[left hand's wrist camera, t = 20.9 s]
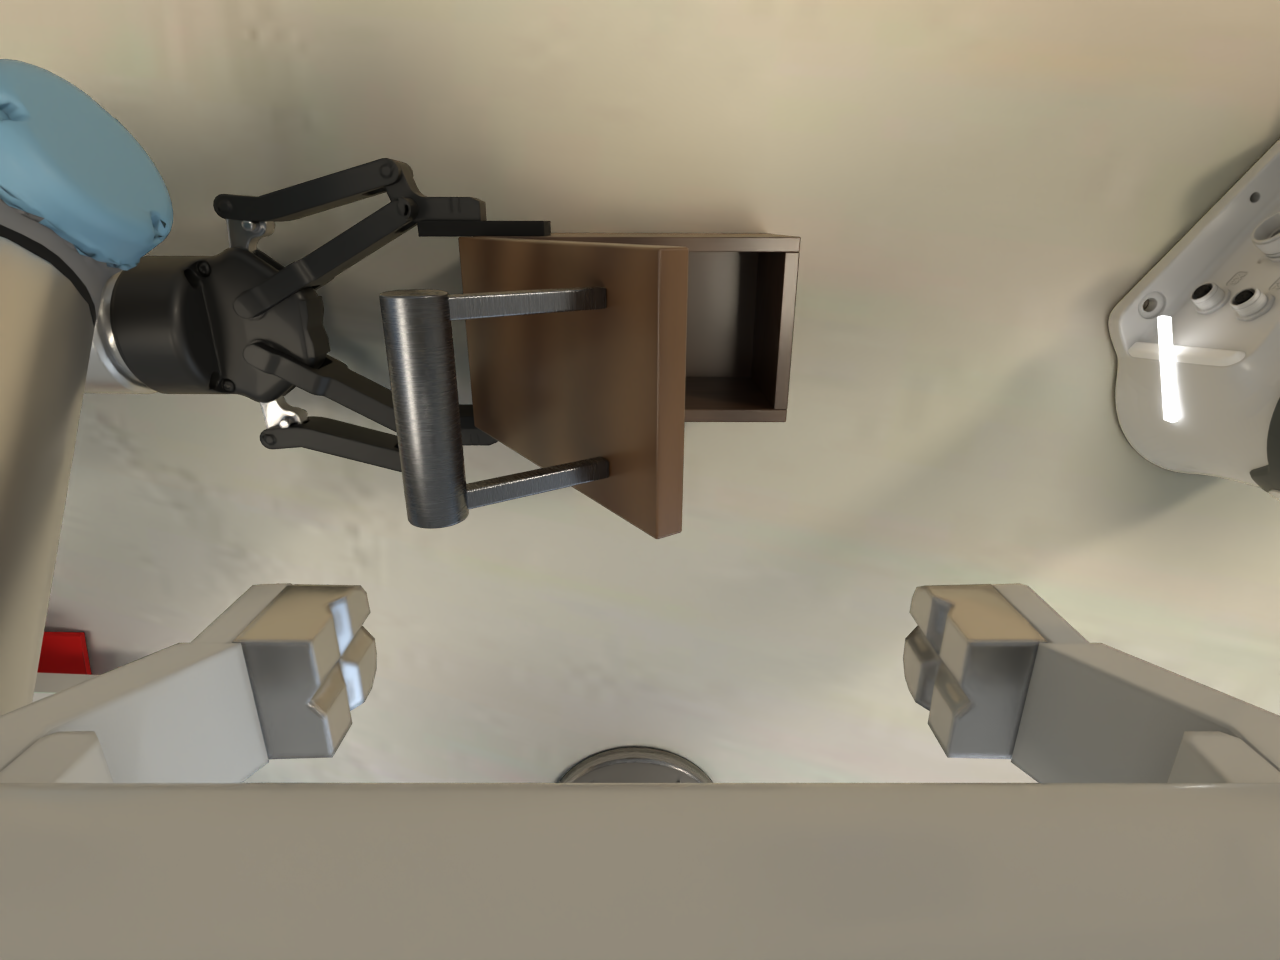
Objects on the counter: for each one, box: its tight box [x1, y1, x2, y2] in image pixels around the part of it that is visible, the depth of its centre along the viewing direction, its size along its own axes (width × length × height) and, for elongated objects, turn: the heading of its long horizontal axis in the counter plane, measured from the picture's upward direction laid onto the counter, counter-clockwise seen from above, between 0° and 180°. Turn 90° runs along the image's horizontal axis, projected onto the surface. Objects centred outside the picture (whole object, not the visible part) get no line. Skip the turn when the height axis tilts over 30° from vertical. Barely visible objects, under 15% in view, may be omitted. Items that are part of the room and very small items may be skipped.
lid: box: [379, 237, 689, 539], centre depth 27 cm, size 17×10×9 cm
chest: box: [473, 233, 801, 422], centre depth 41 cm, size 17×10×9 cm, turn 90°
